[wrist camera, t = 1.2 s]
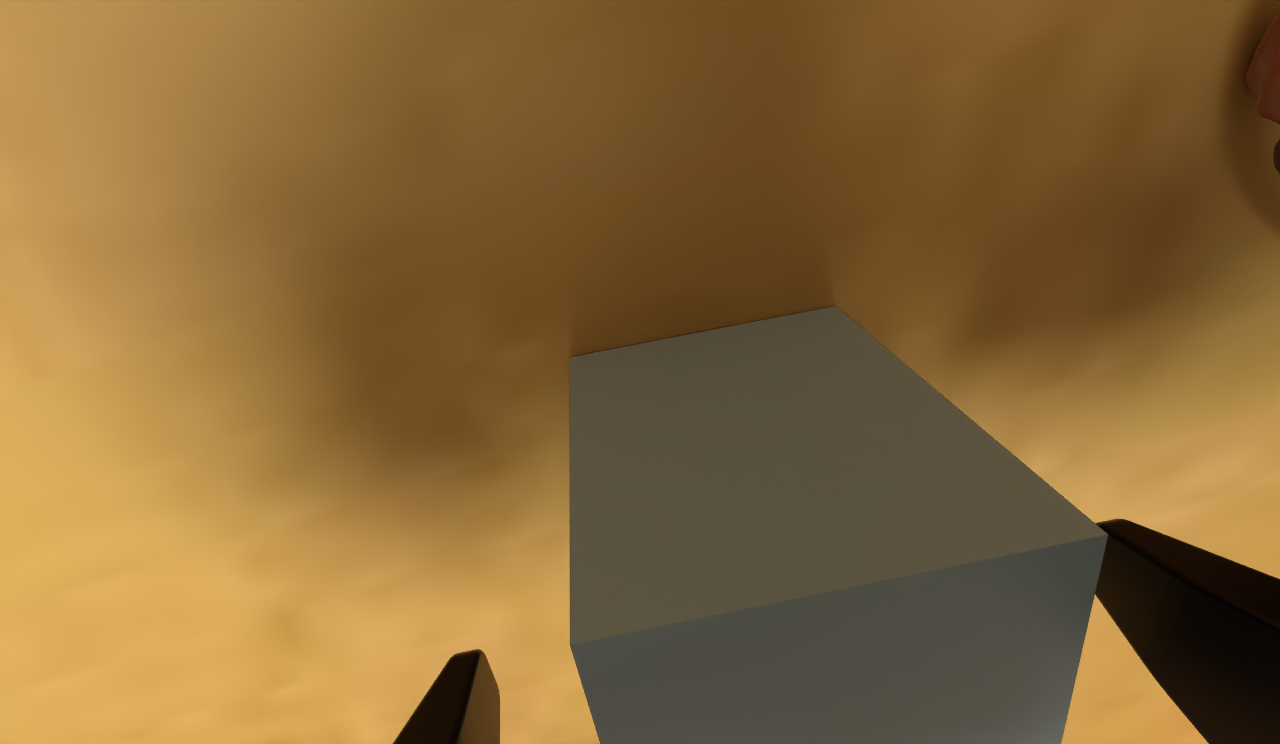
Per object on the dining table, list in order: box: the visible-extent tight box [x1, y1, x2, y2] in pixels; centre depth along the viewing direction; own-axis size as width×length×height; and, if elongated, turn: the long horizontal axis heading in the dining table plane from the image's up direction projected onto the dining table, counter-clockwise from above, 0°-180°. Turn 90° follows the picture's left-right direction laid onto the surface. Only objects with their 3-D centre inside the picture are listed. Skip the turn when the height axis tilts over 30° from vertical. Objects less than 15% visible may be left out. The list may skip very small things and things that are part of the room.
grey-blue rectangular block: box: [569, 306, 1108, 744], centre depth 10 cm, size 5×5×7 cm
